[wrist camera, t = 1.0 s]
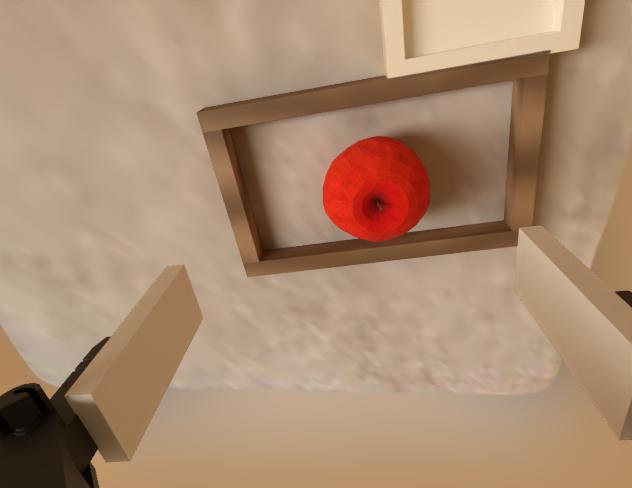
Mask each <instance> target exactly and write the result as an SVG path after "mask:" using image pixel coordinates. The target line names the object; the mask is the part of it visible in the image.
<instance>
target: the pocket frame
mask: <svg viewBox="0 0 632 488" xmlns="http://www.w3.org/2000/svg"><path fill="white" fill-rule="evenodd" d="M546 51H547V50H546ZM546 51H542V53H541V51H540V53H541V54H542V55H540V56H539V55H538V54H539V52H538V54H537V55H536V56H535V53H537V52H534V53H533V54H531V53H529V54H530V56H529V55H528V54H527V55H528V58H526V56H527V55H525V54H523V57H524V56H525V58H523V57H522V58H523V59H522V58H521V56H522V55H521V56H520V57H518V55H517V56H516V58H515V57H514V60H513V59H510V58H513V56H512V57H509V59H506V58H505V60H507V61H505V60H504V59H502V58H501V59H502V60H501V59H500V60H499V59H495V61H494V60H492V61H491V60H489V61H491V62H493V61H494V63H495V64H494V63H493V64H492V63H491V64H490V63H489V61H488V62H487V61H486V62H487V63H486V64H484V65H483V63H485V61H484V62H483V63H475V64H477V65H478V64H481V65H483V66H479V65H478V66H477V65H475V64H474V63H472V64H473V65H472V66H471V67H472V68H471V67H470V66H469V65H471V64H468V65H466V67H467V68H466V67H465V66H464V65H463V66H464V67H463V66H462V65H461V66H460V67H459V66H456V67H458V68H459V69H460V70H459V69H458V68H455V71H454V69H453V68H454V67H452V68H451V69H448V68H446V69H445V68H444V70H446V71H447V72H446V71H445V72H444V70H443V69H442V71H441V70H440V69H439V70H436V71H437V72H436V71H434V70H433V71H429V75H427V74H428V73H427V72H428V71H427V72H422V73H423V74H424V75H423V74H422V73H419V74H421V75H417V74H418V73H416V74H415V75H414V74H411V78H410V77H409V76H410V75H407V76H406V75H405V76H401V77H400V76H399V77H394V78H392V79H393V80H394V81H393V80H391V78H390V80H389V78H387V77H386V76H380V77H374V78H368V79H363V80H357V81H352V82H346V83H341V84H335V85H329V86H324V87H318V88H313V89H307V90H301V91H296V92H290V93H285V94H279V95H274V96H268V97H262V98H257V99H251V100H246V101H240V102H234V103H229V104H223V105H218V106H212V107H206V108H204V109H202V110H200V111H198V112H197V116H198V119H199V122H200V125H201V129H202V132H203V135H204V138H205V142H206V145H207V148H208V151H209V155H210V158H211V161H212V164H213V167H214V171H215V174H216V177H217V180H218V184H219V187H220V190H221V193H222V197H223V200H224V203H225V206H226V209H227V213H228V216H229V219H230V222H231V226H232V229H233V232H234V235H235V239H236V242H237V245H238V248H239V251H240V255H241V258H242V261H243V264H244V268H245V271H246V274H247V277H253V276H262V275H271V274H279V273H288V272H296V271H305V270H314V269H322V268H331V267H340V266H348V265H357V264H366V263H374V262H383V261H391V260H400V259H409V258H417V257H426V256H435V255H443V254H452V253H461V252H469V251H478V250H486V249H495V248H504V247H512V246H518V235H519V228H522V227H531V226H532V222H533V213H534V203H535V194H536V184H537V175H538V165H539V156H540V147H541V137H542V128H543V118H544V109H545V99H546V90H547V81H548V71H549V62H550V54H549V52H550V51H551V50H548V51H549V52H548V51H547V52H548V53H547V52H546ZM543 52H545V54H546V53H547V54H546V55H545V54H543ZM532 55H533V57H532ZM517 57H518V58H521V59H517ZM507 58H508V57H507ZM497 60H498V63H496V61H497ZM499 61H500V63H499ZM501 61H502V62H501ZM504 61H505V62H504ZM488 63H489V65H487V64H488ZM474 65H475V66H476V67H474ZM462 67H463V68H462ZM468 67H469V68H468ZM465 68H466V69H465ZM447 69H448V70H447ZM452 69H453V70H452ZM439 71H440V72H441V73H439ZM449 71H450V72H449ZM431 72H432V73H431ZM443 72H444V73H443ZM426 73H427V74H426ZM430 74H431V75H430ZM416 76H417V77H416ZM413 77H414V78H413ZM401 78H402V79H401ZM405 78H406V79H405ZM407 78H408V79H407ZM409 78H410V79H409ZM395 80H396V81H395ZM509 80H513V93H512V108H511V123H510V138H509V153H508V168H507V183H506V198H505V212H504V221H498V222H490V223H482V224H474V225H466V226H458V227H450V228H442V229H434V230H426V231H418V232H410V233H405V234H404V235H401V236H398V237H395V238H393V239H389V240H384V241H377V242H373V241H368V240H364V239H353V240H345V241H337V242H329V243H321V244H313V245H305V246H297V247H289V248H281V249H273V250H265V251H263V249H262V246H261V242H260V238H259V235H258V231H257V227H256V224H255V220H254V217H253V213H252V209H251V206H250V202H249V198H248V195H247V191H246V187H245V184H244V180H243V177H242V173H241V169H240V166H239V162H238V158H237V155H236V151H235V148H234V144H233V140H232V137H231V133H230V129H229V128H233V127H238V126H244V125H250V124H256V123H262V122H268V121H274V120H280V119H285V118H291V117H297V116H303V115H309V114H315V113H321V112H327V111H332V110H338V109H344V108H350V107H356V106H362V105H368V104H374V103H379V102H385V101H391V100H397V99H403V98H409V97H415V96H421V95H426V94H432V93H438V92H444V91H450V90H456V89H462V88H468V87H473V86H479V85H485V84H491V83H497V82H503V81H509Z"/></svg>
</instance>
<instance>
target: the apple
mask: <svg viewBox="0 0 632 488" xmlns="http://www.w3.org/2000/svg"><path fill="white" fill-rule="evenodd" d="M429 201H430V188H429V179H428V176H427V173H426V170H425V168H424V166H423V164H422V163H421V161H420V159H419V158H418V156H417V155H416V154H415V152H414V151H413V150H412V149H410V148H409V147H407V146H406V145H405V144H403V143H402V142H400V141H398V140H395V139H392V138H389V137H382V136H376V137H371V138H367V139H364V140H360V141H358V142H356V143H355V144H353V145H351V146H350V147H349V148H347V149H346V150H345V151H343V152H342V153H341V154H340V155H339V156H338V157H337V158H336V159H335V160H334V161H333V162H332V164H331V166H330V168H329V170H328V172H327V174H326V178H325V181H324V185H323V205H324V208H325V212H326V214H327V215H328V216H329V218H330V219H331V220H332V222H333V223H334V224H335V225H336V226H338V227H339V228H340V229H341V230H343V231H345V232H347V233H349V234H351V235H352V236H354V237H357V238H361V239H364V240H368V241H373V242H377V241H384V240H389V239H393V238H395V237H398V236H401V235H404V234H405V233H406V232H408V231H409V230H410V229H411V228H413V227H414V226H415V225H416V224H417V223H418V222H419V220H420V219H421V218H422V216H423V215H424V214H425V212H426V210H427V207H428V205H429Z"/></svg>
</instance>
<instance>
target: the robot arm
mask: <svg viewBox="0 0 632 488" xmlns="http://www.w3.org/2000/svg"><path fill="white" fill-rule="evenodd" d="M514 291H515V292H516V294H517V295H518V297H519V298H520V299H521V301H522V302H523V304H524V305H525V307H526V308H527V309H528V311H529V312H530V314H531V315H532V317H533V318H534V319H535V321H536V322H537V324H538V325H539V327H540V328H541V329H542V331H543V332H544V334H545V335H546V337H547V338H548V339H549V341H550V342H551V344H552V345H553V347H554V348H555V349H556V351H557V352H558V354H559V355H560V357H561V358H562V359H563V361H564V362H565V364H566V365H567V367H568V368H569V370H570V371H571V372H572V374H573V375H574V377H575V378H576V380H577V381H578V382H579V384H580V385H581V387H582V388H583V390H584V391H585V392H586V394H587V395H588V397H589V398H590V400H591V401H592V402H593V404H594V405H595V407H596V408H597V410H598V411H599V412H600V414H601V415H602V417H603V418H604V420H605V421H606V422H607V424H608V425H609V427H610V428H611V430H612V431H613V432H614V434H615V435H616V436H617V438H618V439H619V440H632V292H630V291H617V292H614V291H613V290H611V289H610V288H609V287H608V286H607V285H606V284H605V283H604V282H603V281H602V280H601V279H600V278H598V277H597V276H596V275H595V274H594V273H593V272H592V271H591V270H590V269H589V268H587V267H586V266H585V265H584V264H583V263H582V262H581V261H580V260H579V259H578V258H576V257H575V256H574V255H573V254H572V253H571V252H570V251H569V250H568V249H567V248H565V247H564V246H563V245H562V244H561V243H560V242H559V241H558V240H557V239H556V238H554V237H553V236H552V235H551V234H550V233H549V232H548V231H547V230H546V229H545V228H543V227H542V226H541V225H540V226H531V227H522V228H519V235H518V247H517V258H516V269H515V280H514ZM202 319H203V316H202V313H201V310H200V307H199V305H198V302H197V299H196V296H195V293H194V291H193V288H192V285H191V282H190V279H189V277H188V274H187V271H186V268H185V266H184V265H176V266H167V267H166V268H165V269H164V271H163V272H162V273H161V274H160V276H159V277H158V278H157V279H156V281H155V282H154V283H153V284H152V286H151V287H150V288H149V289H148V291H147V292H146V293H145V295H144V296H143V297H142V298H141V300H140V301H139V302H138V303H137V305H136V306H135V307H134V308H133V310H132V311H131V312H130V313H129V315H128V316H127V317H126V318H125V320H124V321H123V322H122V324H121V325H120V326H119V327H118V329H117V330H116V331H115V332H114V334H113V335H112V336H111V337H106V338H105V339H103V340H102V341H101V342H99V343H98V344H97V345H96V346H94V347H93V348H92V349H91V350H90V352H89V353H88V354H87V355H86V356H85V358H84V359H83V362H81V363H80V364H79V365H78V366H77V367H76V369H75V372H72V373H71V375H70V376H69V377H68V378H67V380H66V381H65V382H64V383H63V384H62V386H61V387H60V388H59V389H58V390H57V392H56V393H55V394H54V395H53V397H52V398H51V399H50V400H49V398H48V397H47V395H46V394H45V392H44V391H43V389H42V388H41V386H40V385H39V384H36V383H30V384H24V385H21V386H19V387H16V388H13V389H11V390H10V391H8V392H6V393H4V394H3V395H2V396H0V488H99V485H98V480H97V475H96V471H95V468H94V467H93V465H92V463H91V462H90V461H91V460H92V458H93V456H94V455H95V453H96V451H97V450H99V452H100V453H101V455H102V457H103V458H104V460H105V461H106V462H123V461H130V460H131V459H132V457H133V454H134V453H135V451H136V449H137V447H138V445H139V443H140V441H141V439H142V437H143V435H144V433H145V431H146V429H147V427H148V425H149V423H150V421H151V419H152V417H153V415H154V413H155V411H156V410H157V408H158V406H159V404H160V401H161V400H162V398H163V396H164V394H165V392H166V390H167V388H168V386H169V384H170V382H171V380H172V378H173V376H174V374H175V372H176V370H177V368H178V366H179V364H180V362H181V360H182V359H183V357H184V355H185V353H186V351H187V349H188V347H189V345H190V343H191V341H192V339H193V337H194V335H195V333H196V331H197V329H198V327H199V325H200V323H201V321H202Z"/></svg>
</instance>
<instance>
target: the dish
mask: <svg viewBox="0 0 632 488" xmlns="http://www.w3.org/2000/svg"><path fill="white" fill-rule="evenodd" d="M584 5H585V0H379V7H380V20H381V32H382V45H383V57H384V69H385V76H386V77H387V78H389V80H390V78H391V80H393V79H392V78H394V77H399V76H400V77H401V76H405V75H406V76H407V75H410V76H409V77H410V78H411V74H414V75H415V74H416V73H418V74H417V75H421V74H419V73H422V72H427V71H428V72H427V73H428V74H427V73H426V74H427V75H429V71H433V70H434V71H436V70H439V69H440V70H441V71H442V69H443V70H444V68H445V69H446V68H448V69H451V68H452V67H454V68H453V69H454V71H455V68H458V67H456V66H459V67H460V66H461V65H462V66H463V65H464V66H465V67H466V65H468V64H471V65H469V66H470V67H471V66H472V65H473V64H472V63H474V64H475V63H483V62H484V61H485V63H483V65H484V64H486V63H487V62H488V61H489V60H491V61H492V60H494V61H495V59H499V60H500V59H501V58H502V59H504V60H505V58H506V59H509V57H512V56H513V58H510V59H513V60H514V57H515V58H516V56H517V55H518V57H520V56H521V55H522V56H521V58H522V57H523V54H525V55H527V54H528V55H529V56H530V54H529V53H531V54H533V53H534V52H537V53H535V56H536V55H537V54H538V52H539V54H538V55H539V56H540V55H542V54H541V53H542V51H546V50H547V51H548V50H551V51H550V52H549V51H548V52H549V54H551V53H557V52H563V51H568V50H574V49H579V41H580V34H581V27H582V19H583V12H584ZM540 51H541V53H540ZM547 51H546V52H547ZM548 52H547V53H548ZM547 53H546V54H547ZM543 54H545V52H543ZM546 54H545V55H546ZM528 55H527V56H526V58H528ZM507 57H508V58H507ZM518 57H517V59H521V58H518ZM532 57H533V55H532ZM523 58H525V56H524V57H523ZM523 58H522V59H523ZM502 59H501V60H502ZM486 61H487V62H486ZM491 61H489V63H490V64H491V63H492V64H493V63H494V61H493V62H491ZM505 61H507V60H505ZM505 61H504V62H505ZM501 62H502V61H501ZM489 63H488V64H487V65H489ZM496 63H498V60H497V61H496ZM499 63H500V61H499ZM494 64H495V63H494ZM475 65H477V64H475ZM475 65H474V67H476V66H475ZM478 65H479V66H483V65H481V64H478ZM478 65H477V66H478ZM464 66H463V67H464ZM463 67H462V68H463ZM466 68H467V67H466ZM466 68H465V69H466ZM468 68H469V67H468ZM471 68H472V67H471ZM448 69H447V70H448ZM453 69H452V70H453ZM458 69H459V68H458ZM459 70H460V69H459ZM445 71H446V70H444V72H445ZM436 72H437V71H436ZM444 72H443V73H444ZM446 72H447V71H446ZM449 72H450V71H449ZM431 73H432V72H431ZM439 73H441V72H440V71H439ZM422 74H423V73H422ZM423 75H424V74H423ZM430 75H431V74H430ZM416 77H417V76H416ZM410 78H409V79H410ZM413 78H414V77H413ZM401 79H402V78H401ZM405 79H406V78H405ZM407 79H408V78H407ZM393 81H394V80H393ZM395 81H396V80H395Z"/></svg>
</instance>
